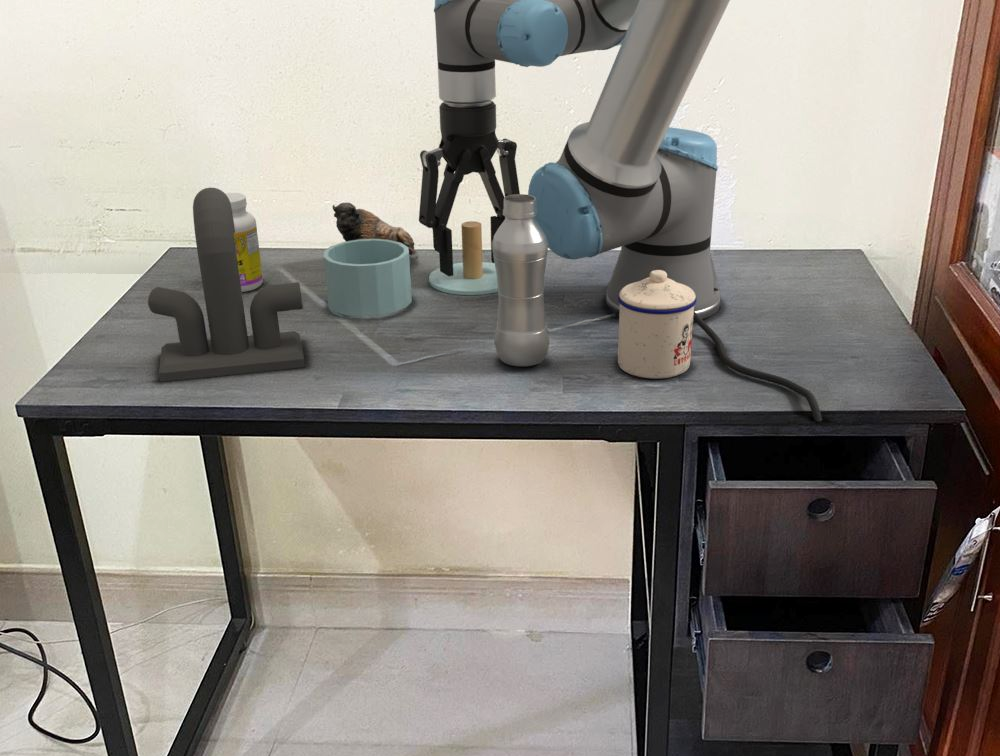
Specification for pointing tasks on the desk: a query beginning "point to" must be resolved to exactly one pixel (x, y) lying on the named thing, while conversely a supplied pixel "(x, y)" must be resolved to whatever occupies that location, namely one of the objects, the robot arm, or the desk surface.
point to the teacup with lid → (655, 327)
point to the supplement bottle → (246, 243)
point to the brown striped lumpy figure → (369, 227)
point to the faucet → (225, 309)
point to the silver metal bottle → (520, 284)
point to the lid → (468, 267)
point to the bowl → (367, 277)
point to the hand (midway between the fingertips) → (472, 268)
